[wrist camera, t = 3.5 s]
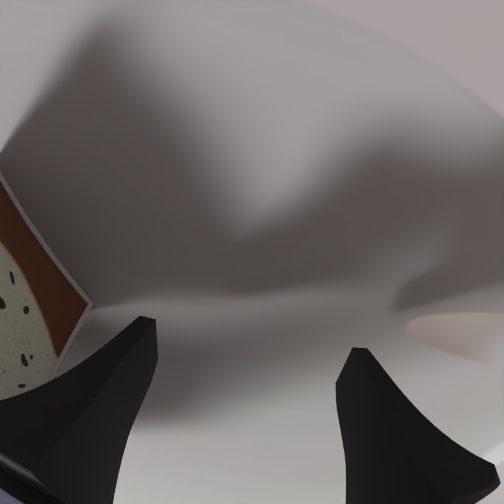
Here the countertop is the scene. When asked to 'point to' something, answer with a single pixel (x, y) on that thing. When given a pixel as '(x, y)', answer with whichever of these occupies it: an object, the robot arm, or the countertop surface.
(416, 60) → the countertop surface
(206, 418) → the countertop surface
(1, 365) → the food container
